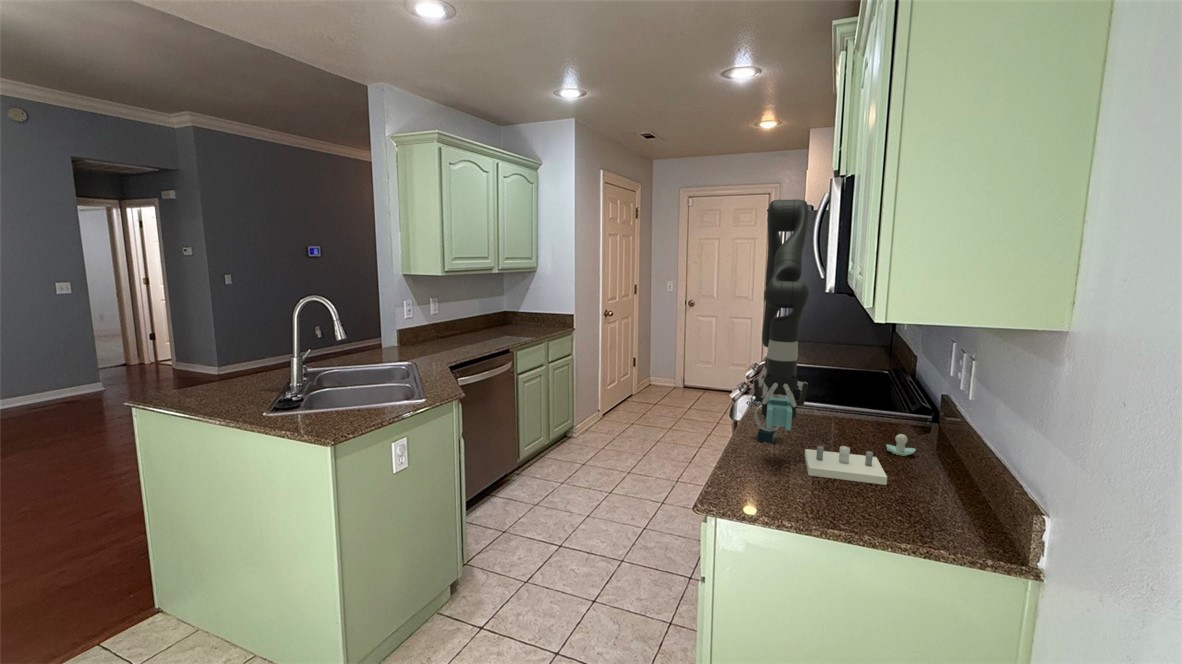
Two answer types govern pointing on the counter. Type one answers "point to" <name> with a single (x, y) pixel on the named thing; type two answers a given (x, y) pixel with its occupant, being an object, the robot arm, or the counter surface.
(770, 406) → the flange bar
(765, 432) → the watch
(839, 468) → the base plate
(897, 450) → the pacifier
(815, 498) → the counter surface
